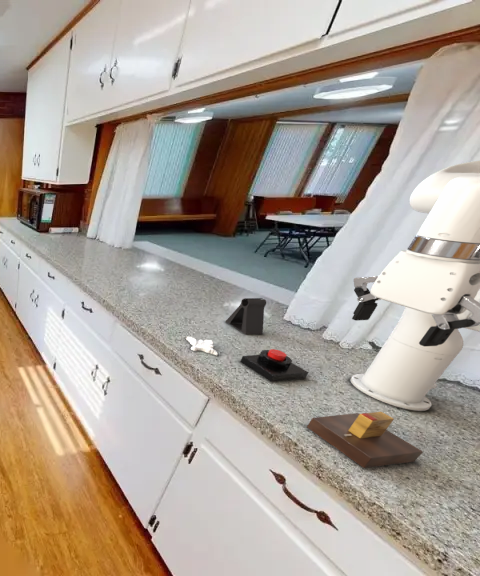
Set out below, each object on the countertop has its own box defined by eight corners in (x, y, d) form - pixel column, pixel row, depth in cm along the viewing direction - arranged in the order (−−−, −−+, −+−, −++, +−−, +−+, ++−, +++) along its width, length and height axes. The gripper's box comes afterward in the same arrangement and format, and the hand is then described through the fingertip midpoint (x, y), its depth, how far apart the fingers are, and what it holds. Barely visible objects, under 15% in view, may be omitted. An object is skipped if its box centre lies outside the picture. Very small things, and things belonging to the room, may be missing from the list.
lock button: (274, 353, 88) (277, 348, 87) (287, 360, 85) (290, 355, 84) (263, 354, 88) (266, 349, 87) (276, 361, 84) (279, 356, 84)
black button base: (272, 359, 91) (277, 348, 90) (305, 378, 83) (311, 367, 81) (240, 361, 90) (244, 351, 89) (270, 381, 82) (276, 370, 80)
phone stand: (225, 321, 112) (236, 293, 107) (241, 321, 112) (252, 293, 107) (245, 334, 104) (257, 304, 99) (262, 334, 104) (275, 304, 99)
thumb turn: (368, 428, 64) (381, 410, 62) (381, 436, 62) (395, 418, 60) (347, 430, 64) (360, 412, 62) (360, 438, 62) (373, 420, 60)
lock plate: (351, 422, 69) (358, 412, 68) (414, 461, 60) (424, 451, 59) (306, 427, 68) (312, 417, 67) (363, 468, 59) (372, 457, 58)
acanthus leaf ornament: (185, 339, 102) (187, 334, 101) (209, 343, 100) (211, 338, 99) (191, 351, 96) (193, 346, 95) (217, 355, 93) (219, 350, 92)
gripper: (557, 263, 44) (479, 356, 51) (395, 237, 60) (352, 311, 67) (515, 264, 44) (442, 358, 51) (363, 238, 60) (323, 312, 66)
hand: (391, 331), depth 59 cm, fingers open, 9 cm apart
